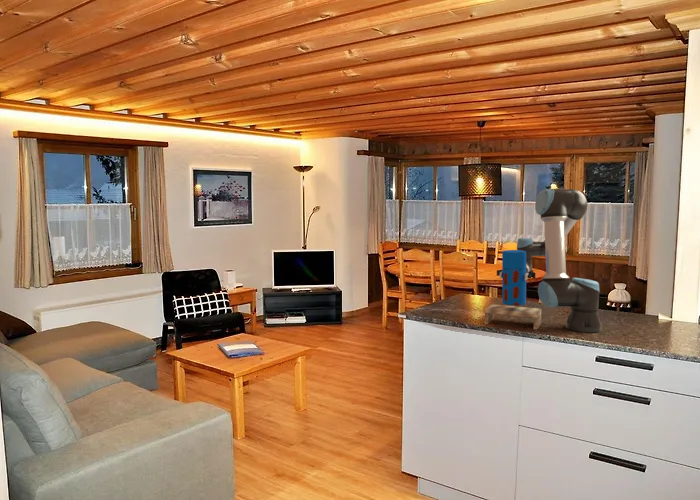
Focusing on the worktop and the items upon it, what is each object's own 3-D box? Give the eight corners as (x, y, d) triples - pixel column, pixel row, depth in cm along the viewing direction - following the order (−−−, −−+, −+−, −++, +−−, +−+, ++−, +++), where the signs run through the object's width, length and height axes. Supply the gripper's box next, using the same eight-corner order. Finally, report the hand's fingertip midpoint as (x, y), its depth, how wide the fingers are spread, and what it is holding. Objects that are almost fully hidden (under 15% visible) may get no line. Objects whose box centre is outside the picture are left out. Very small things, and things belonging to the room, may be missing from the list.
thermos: (527, 305, 259) (527, 252, 256) (503, 305, 261) (503, 252, 258) (524, 300, 270) (524, 249, 267) (501, 300, 271) (501, 250, 268)
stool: (540, 323, 267) (541, 308, 266) (536, 329, 255) (537, 314, 254) (490, 318, 278) (491, 304, 277) (484, 323, 265) (484, 309, 264)
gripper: (544, 279, 275) (538, 286, 256) (496, 276, 286) (487, 282, 266) (545, 264, 275) (539, 270, 255) (497, 261, 285) (488, 267, 265)
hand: (512, 276), depth 260 cm, fingers closed on thermos, 11 cm apart
